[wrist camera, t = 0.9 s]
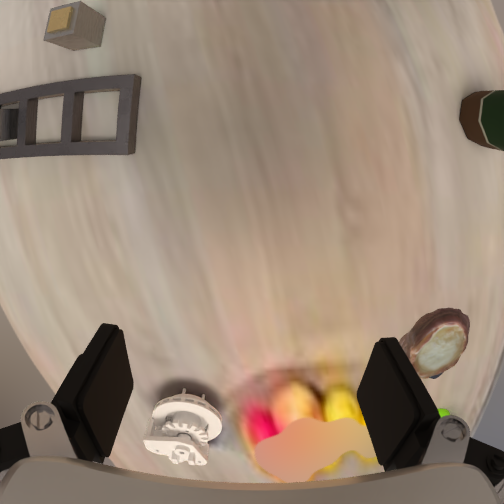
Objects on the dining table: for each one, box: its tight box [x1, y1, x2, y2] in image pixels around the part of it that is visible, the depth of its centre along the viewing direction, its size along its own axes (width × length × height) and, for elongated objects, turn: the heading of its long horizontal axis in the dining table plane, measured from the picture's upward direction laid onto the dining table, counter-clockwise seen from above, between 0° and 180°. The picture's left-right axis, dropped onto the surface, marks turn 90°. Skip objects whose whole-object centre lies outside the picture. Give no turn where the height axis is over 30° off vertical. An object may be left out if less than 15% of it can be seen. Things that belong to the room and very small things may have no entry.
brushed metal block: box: [44, 1, 106, 51], centre depth 24 cm, size 4×4×8 cm
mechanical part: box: [143, 388, 222, 465], centre depth 42 cm, size 11×12×12 cm
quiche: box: [399, 308, 470, 379], centre depth 44 cm, size 21×20×4 cm
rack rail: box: [0, 74, 141, 159], centre depth 30 cm, size 24×9×2 cm, turn 84°
